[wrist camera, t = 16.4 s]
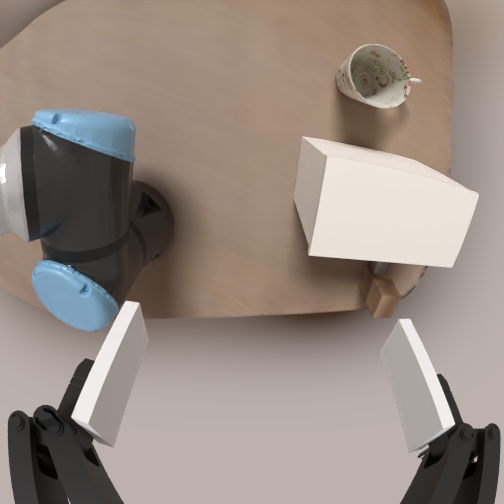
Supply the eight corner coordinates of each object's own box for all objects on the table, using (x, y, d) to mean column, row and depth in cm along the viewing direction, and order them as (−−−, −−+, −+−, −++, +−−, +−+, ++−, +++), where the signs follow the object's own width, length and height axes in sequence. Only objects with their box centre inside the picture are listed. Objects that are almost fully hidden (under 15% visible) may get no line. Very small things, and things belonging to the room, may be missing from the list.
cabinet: (292, 199, 42) (308, 255, 28) (300, 135, 37) (327, 155, 22) (402, 214, 42) (452, 267, 28) (416, 159, 37) (479, 194, 23)
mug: (322, 56, 30) (341, 43, 22) (396, 56, 28) (430, 49, 20) (333, 108, 34) (355, 110, 26) (405, 104, 33) (440, 109, 24)
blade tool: (359, 286, 51) (372, 317, 43) (381, 217, 43) (403, 243, 35) (376, 287, 51) (391, 317, 43) (399, 220, 43) (422, 245, 35)
